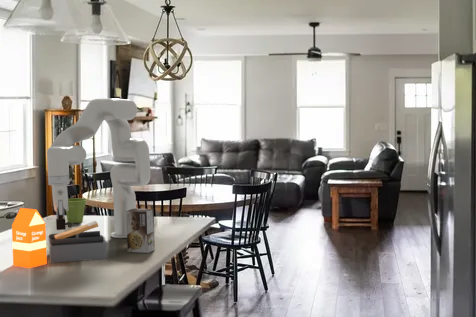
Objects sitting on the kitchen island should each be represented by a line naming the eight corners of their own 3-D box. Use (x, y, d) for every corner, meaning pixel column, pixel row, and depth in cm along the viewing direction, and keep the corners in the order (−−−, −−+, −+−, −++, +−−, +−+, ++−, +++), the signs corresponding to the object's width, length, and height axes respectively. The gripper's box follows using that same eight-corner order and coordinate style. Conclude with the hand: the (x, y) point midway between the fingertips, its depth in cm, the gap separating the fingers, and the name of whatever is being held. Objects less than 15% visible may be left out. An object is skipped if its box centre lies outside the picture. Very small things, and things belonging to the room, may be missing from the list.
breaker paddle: (96, 224, 251) (95, 220, 250) (98, 226, 245) (97, 223, 245) (55, 238, 246) (54, 234, 246) (56, 241, 240) (54, 237, 240)
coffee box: (155, 250, 256) (154, 208, 255) (147, 253, 250) (147, 211, 249) (134, 248, 259) (133, 208, 258) (126, 252, 253) (125, 210, 252)
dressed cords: (99, 235, 255) (99, 230, 255) (103, 242, 242) (103, 236, 242) (48, 239, 249) (48, 233, 249) (49, 245, 236) (49, 240, 236)
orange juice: (29, 268, 228) (27, 210, 226) (12, 265, 232) (10, 209, 231) (47, 263, 234) (45, 208, 233) (30, 261, 239) (28, 206, 238)
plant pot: (84, 224, 320) (83, 201, 320) (60, 224, 321) (59, 201, 320) (90, 220, 332) (89, 198, 332) (66, 220, 332) (66, 198, 332)
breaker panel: (102, 250, 257) (102, 228, 256) (107, 258, 242) (107, 235, 241) (49, 254, 251) (48, 231, 250) (50, 262, 235) (49, 239, 235)
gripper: (70, 181, 237) (72, 232, 238) (68, 177, 251) (70, 225, 252) (48, 183, 234) (51, 234, 236) (47, 178, 248) (49, 226, 250)
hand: (61, 229), depth 244 cm, fingers closed
